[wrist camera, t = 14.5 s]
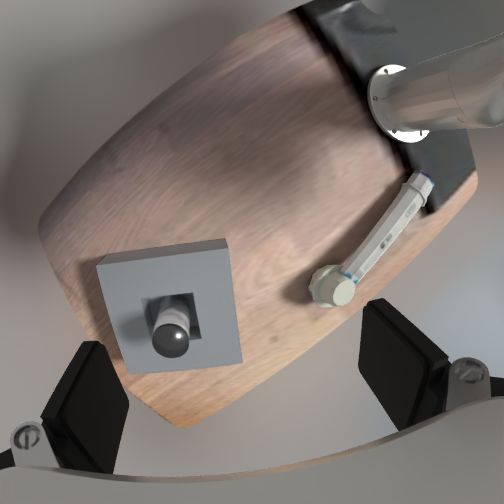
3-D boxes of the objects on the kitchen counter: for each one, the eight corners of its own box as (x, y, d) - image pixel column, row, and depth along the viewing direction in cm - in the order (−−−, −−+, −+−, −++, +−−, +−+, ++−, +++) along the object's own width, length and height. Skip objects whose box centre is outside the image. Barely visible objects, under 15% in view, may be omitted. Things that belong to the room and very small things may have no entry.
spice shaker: (187, 291, 38) (186, 325, 29) (191, 318, 39) (191, 356, 30) (157, 294, 37) (148, 328, 29) (162, 321, 38) (156, 359, 30)
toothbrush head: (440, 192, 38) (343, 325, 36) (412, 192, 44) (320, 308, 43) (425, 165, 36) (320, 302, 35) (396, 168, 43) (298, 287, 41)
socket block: (225, 238, 38) (228, 248, 34) (238, 343, 43) (242, 363, 38) (107, 254, 36) (95, 265, 32) (135, 354, 41) (129, 374, 36)
